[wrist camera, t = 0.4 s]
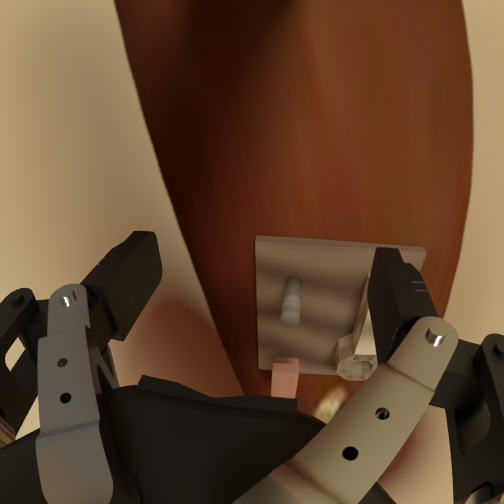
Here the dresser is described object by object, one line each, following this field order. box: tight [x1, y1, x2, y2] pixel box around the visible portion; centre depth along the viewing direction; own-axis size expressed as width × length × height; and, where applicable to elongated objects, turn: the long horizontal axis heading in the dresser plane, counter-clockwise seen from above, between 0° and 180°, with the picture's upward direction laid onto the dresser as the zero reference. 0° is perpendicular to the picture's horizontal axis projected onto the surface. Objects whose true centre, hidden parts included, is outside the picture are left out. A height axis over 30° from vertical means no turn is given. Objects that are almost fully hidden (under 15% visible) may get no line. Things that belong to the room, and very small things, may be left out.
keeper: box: [271, 357, 299, 398], centre depth 38 cm, size 7×3×6 cm, turn 2°
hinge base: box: [255, 235, 426, 375], centre depth 34 cm, size 22×18×6 cm
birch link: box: [336, 273, 378, 380], centre depth 34 cm, size 15×6×4 cm, turn 2°
